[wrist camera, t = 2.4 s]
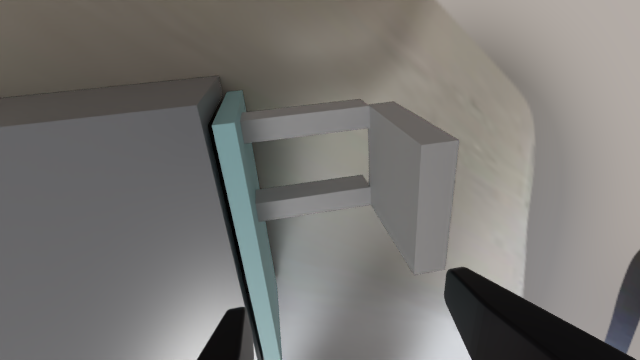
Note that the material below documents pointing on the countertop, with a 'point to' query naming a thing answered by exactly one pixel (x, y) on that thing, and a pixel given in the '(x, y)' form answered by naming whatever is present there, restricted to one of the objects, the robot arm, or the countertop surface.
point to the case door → (337, 186)
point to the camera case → (114, 225)
